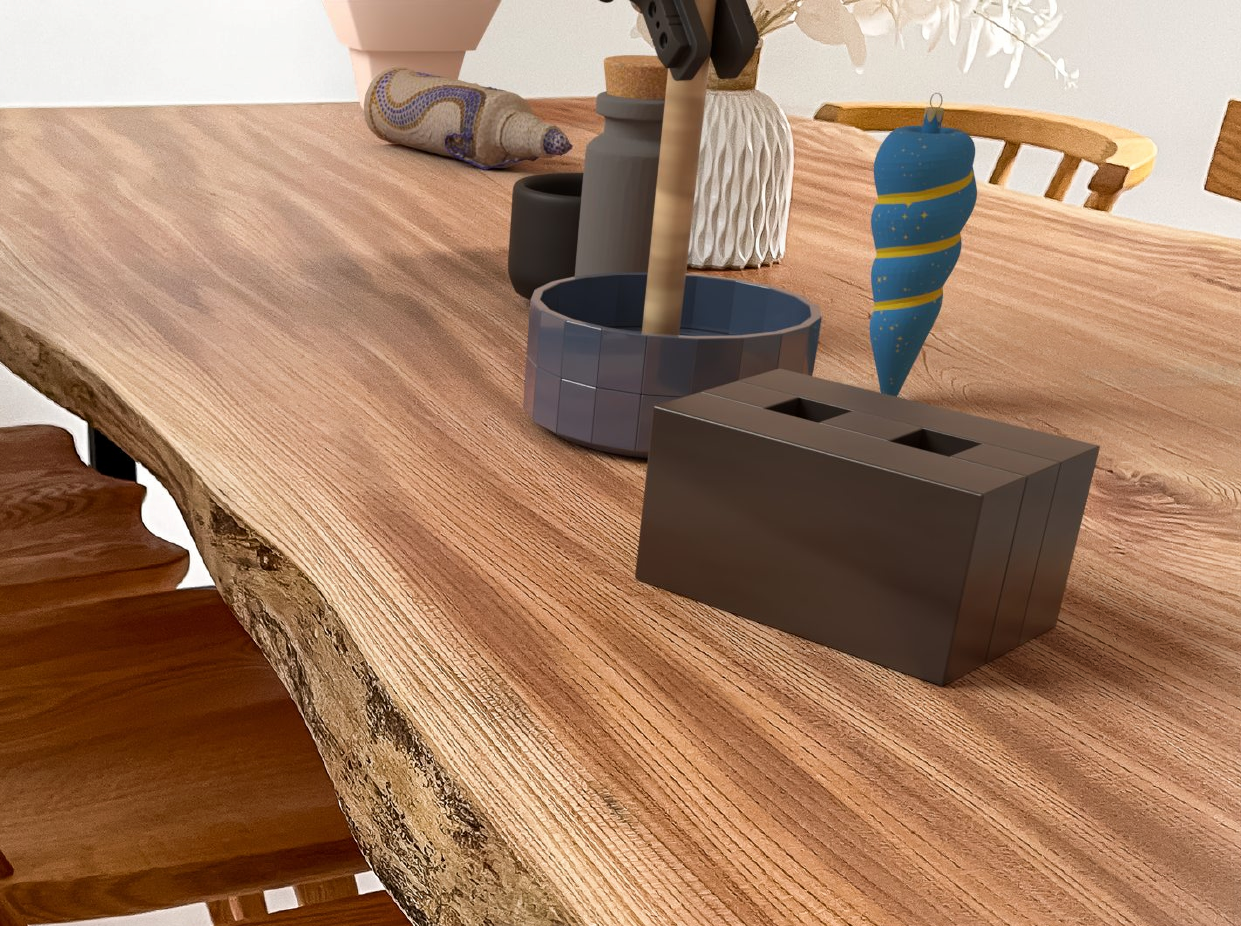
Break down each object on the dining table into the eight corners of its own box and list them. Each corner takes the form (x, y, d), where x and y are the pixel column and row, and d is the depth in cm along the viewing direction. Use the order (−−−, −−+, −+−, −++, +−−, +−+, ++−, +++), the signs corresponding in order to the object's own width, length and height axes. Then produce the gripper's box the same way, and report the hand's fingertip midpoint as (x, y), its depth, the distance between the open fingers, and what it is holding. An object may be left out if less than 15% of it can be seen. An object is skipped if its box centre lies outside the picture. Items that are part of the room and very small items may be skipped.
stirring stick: (650, 386, 87) (695, -44, 77) (679, 394, 86) (729, -42, 76) (628, 393, 86) (670, -43, 76) (657, 401, 85) (704, -41, 75)
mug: (496, 286, 114) (503, 170, 111) (631, 287, 115) (643, 172, 111) (523, 333, 104) (532, 208, 101) (672, 334, 105) (687, 209, 101)
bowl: (297, 107, 187) (297, -40, 180) (473, 106, 190) (480, -39, 183) (327, 133, 171) (328, -27, 164) (517, 132, 175) (528, -25, 167)
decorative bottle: (356, 145, 165) (358, 67, 162) (422, 140, 169) (425, 64, 165) (525, 187, 147) (532, 101, 143) (594, 181, 150) (602, 97, 147)
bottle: (688, 338, 104) (721, 61, 96) (629, 356, 100) (659, 69, 92) (608, 320, 107) (634, 50, 99) (549, 336, 103) (571, 58, 96)
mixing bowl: (638, 372, 97) (649, 260, 94) (856, 429, 89) (877, 307, 85) (466, 419, 89) (473, 297, 86) (689, 486, 80) (705, 354, 77)
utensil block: (755, 532, 75) (779, 368, 71) (1056, 626, 67) (1101, 445, 63) (633, 579, 70) (652, 405, 66) (942, 687, 62) (983, 494, 58)
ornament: (889, 418, 90) (946, 102, 83) (815, 394, 94) (863, 90, 86) (956, 404, 93) (1017, 96, 85) (881, 381, 96) (934, 84, 89)
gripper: (495, -340, 74) (619, 8, 71) (765, -325, 79) (892, 2, 76) (435, -192, 81) (546, 131, 78) (686, -186, 86) (800, 118, 83)
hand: (716, 66), depth 77 cm, fingers closed on stirring stick, 2 cm apart
